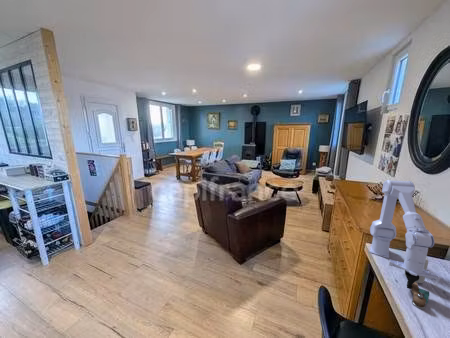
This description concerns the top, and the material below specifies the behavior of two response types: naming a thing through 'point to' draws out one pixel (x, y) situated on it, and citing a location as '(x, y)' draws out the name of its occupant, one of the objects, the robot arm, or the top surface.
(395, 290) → the top surface
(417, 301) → the latch bar
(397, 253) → the top surface
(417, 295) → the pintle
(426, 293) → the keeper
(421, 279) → the beverage can
